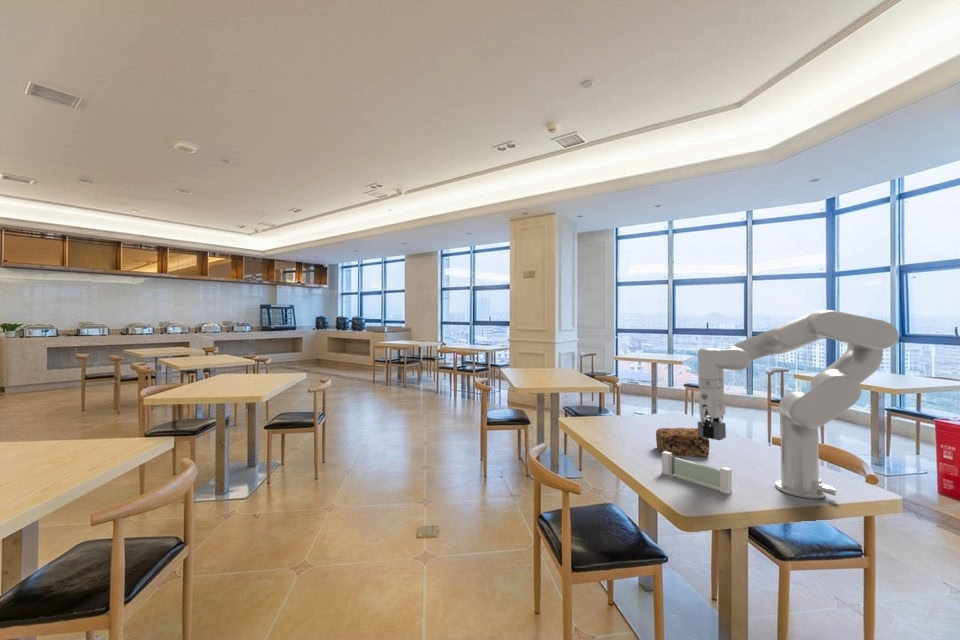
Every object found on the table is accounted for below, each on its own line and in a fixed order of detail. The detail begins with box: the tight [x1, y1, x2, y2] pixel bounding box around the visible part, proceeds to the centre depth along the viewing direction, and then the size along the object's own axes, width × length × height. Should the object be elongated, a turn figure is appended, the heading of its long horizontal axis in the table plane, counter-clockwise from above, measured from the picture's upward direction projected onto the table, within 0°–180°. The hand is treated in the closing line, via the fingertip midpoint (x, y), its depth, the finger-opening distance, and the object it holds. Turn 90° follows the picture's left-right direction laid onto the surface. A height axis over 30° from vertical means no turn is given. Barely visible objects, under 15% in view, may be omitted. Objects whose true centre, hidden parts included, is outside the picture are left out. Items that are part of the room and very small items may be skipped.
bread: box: [655, 427, 711, 458], centre depth 169 cm, size 19×11×10 cm, turn 76°
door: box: [670, 455, 720, 488], centre depth 138 cm, size 16×1×6 cm, turn 36°
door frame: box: [661, 451, 733, 495], centre depth 138 cm, size 22×2×8 cm, turn 36°
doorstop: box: [697, 420, 727, 441], centre depth 141 cm, size 7×5×5 cm
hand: (712, 435), depth 141 cm, fingers closed on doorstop, 5 cm apart
